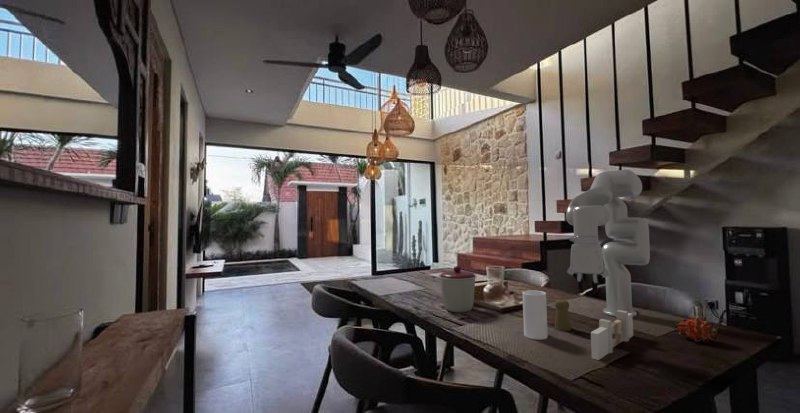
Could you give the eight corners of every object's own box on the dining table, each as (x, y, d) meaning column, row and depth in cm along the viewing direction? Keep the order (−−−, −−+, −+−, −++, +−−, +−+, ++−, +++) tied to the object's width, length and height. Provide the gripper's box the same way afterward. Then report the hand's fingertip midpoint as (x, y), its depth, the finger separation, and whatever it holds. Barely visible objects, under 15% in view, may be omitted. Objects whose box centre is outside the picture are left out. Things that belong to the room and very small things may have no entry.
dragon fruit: (724, 350, 114) (678, 347, 121) (718, 329, 119) (675, 327, 127) (720, 333, 110) (673, 331, 118) (715, 312, 116) (670, 312, 124)
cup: (529, 330, 133) (528, 289, 134) (551, 335, 127) (549, 292, 128) (520, 336, 127) (518, 292, 128) (542, 341, 122) (540, 296, 122)
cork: (573, 331, 131) (572, 302, 131) (556, 330, 132) (555, 301, 132) (568, 326, 137) (567, 298, 137) (552, 325, 138) (551, 298, 138)
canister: (450, 303, 177) (449, 262, 178) (483, 307, 167) (482, 264, 167) (432, 311, 163) (431, 267, 163) (468, 317, 152) (466, 270, 152)
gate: (619, 338, 121) (618, 318, 121) (626, 340, 119) (625, 320, 119) (605, 347, 113) (604, 326, 113) (613, 349, 111) (612, 328, 111)
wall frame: (625, 333, 127) (624, 306, 127) (634, 335, 124) (633, 308, 124) (590, 357, 107) (588, 325, 107) (600, 360, 105) (599, 327, 105)
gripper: (558, 241, 123) (560, 292, 122) (612, 242, 113) (614, 298, 113) (563, 239, 129) (565, 288, 128) (614, 240, 119) (616, 293, 119)
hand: (588, 292), depth 121 cm, fingers open, 3 cm apart
